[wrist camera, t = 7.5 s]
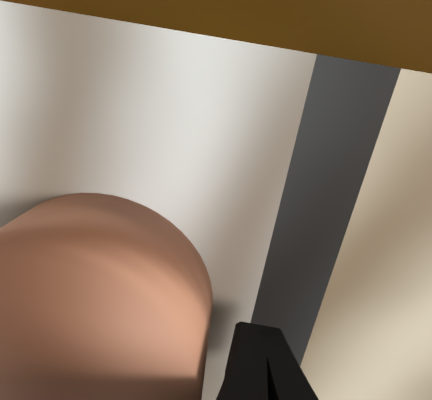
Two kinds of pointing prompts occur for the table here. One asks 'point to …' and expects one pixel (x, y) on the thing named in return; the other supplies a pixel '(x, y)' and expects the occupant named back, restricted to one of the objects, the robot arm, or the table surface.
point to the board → (243, 180)
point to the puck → (101, 304)
